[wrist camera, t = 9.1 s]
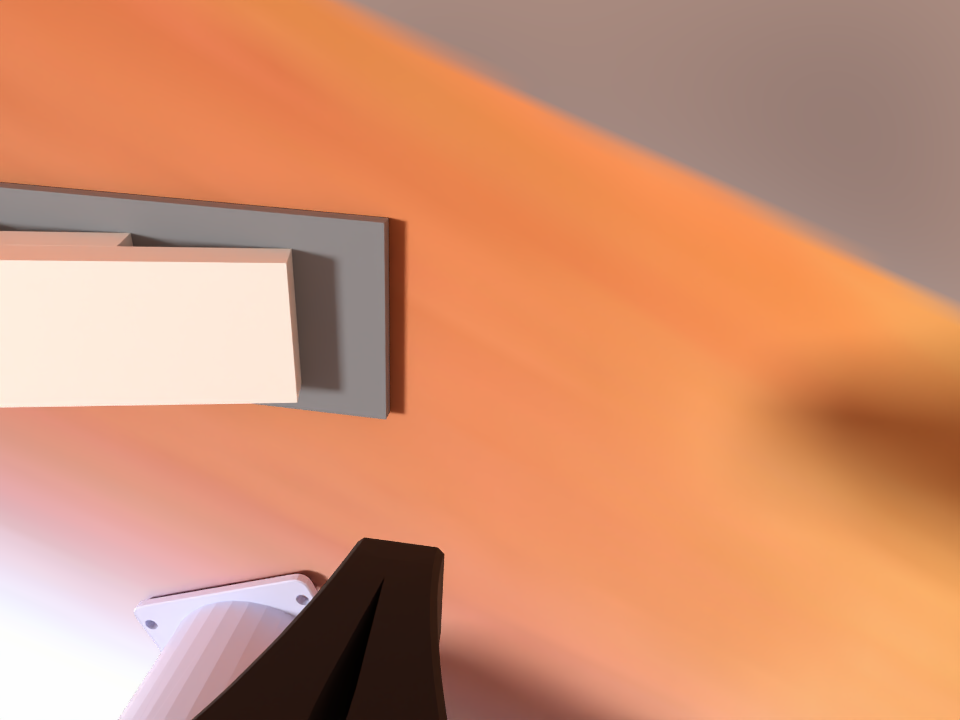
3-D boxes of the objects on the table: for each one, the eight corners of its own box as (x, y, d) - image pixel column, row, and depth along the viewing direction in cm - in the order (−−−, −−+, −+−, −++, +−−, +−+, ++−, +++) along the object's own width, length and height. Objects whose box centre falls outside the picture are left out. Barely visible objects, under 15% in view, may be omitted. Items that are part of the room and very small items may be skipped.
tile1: (286, 262, 19) (-60, 259, 17) (297, 402, 21) (-12, 407, 19) (291, 248, 20) (-34, 244, 18) (301, 382, 22) (9, 386, 20)
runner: (388, 217, 19) (384, 222, 19) (389, 411, 22) (386, 419, 22) (-348, 150, 21) (-368, 153, 21) (-257, 335, 24) (-273, 341, 24)
